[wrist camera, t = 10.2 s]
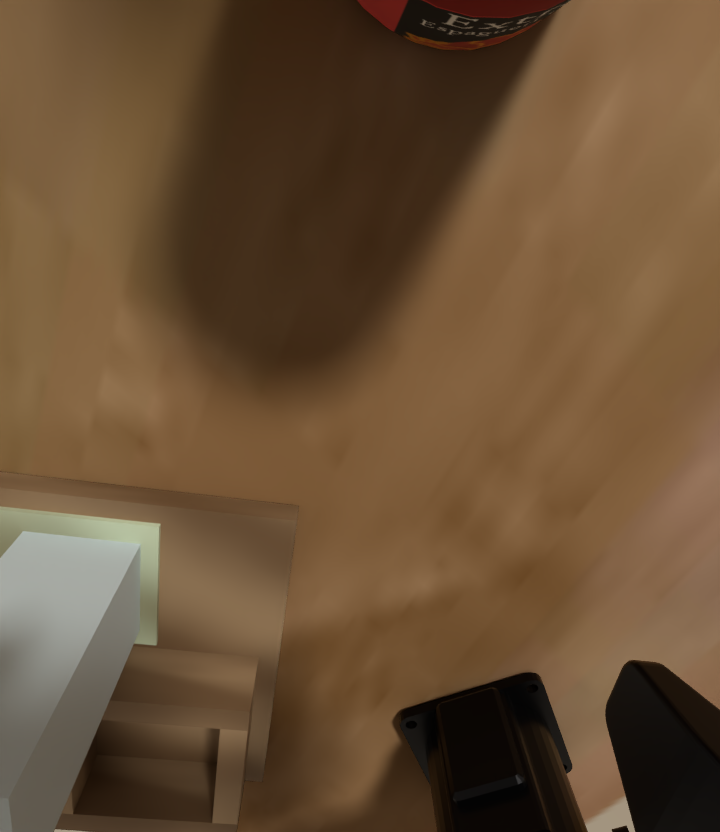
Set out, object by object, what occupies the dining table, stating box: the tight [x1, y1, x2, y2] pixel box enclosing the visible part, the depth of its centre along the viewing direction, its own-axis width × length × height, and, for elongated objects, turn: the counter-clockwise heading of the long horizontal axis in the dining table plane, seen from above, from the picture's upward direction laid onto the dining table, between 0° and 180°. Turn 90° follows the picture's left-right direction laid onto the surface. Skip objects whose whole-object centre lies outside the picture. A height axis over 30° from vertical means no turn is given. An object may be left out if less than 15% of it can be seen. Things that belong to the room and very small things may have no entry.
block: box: [0, 531, 141, 832], centre depth 17 cm, size 4×4×9 cm
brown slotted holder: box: [0, 472, 299, 832], centre depth 22 cm, size 14×11×4 cm
